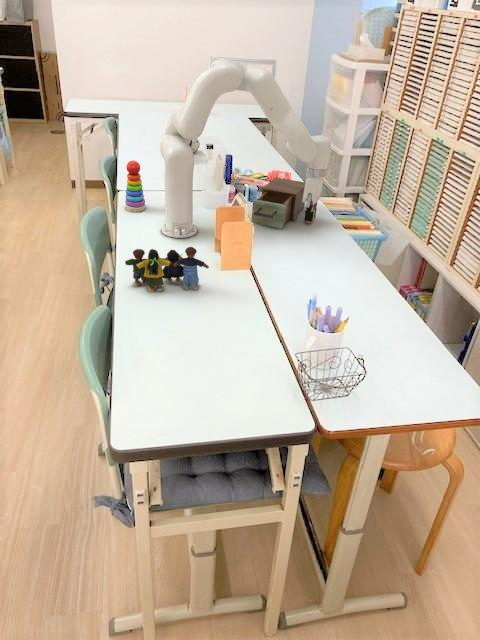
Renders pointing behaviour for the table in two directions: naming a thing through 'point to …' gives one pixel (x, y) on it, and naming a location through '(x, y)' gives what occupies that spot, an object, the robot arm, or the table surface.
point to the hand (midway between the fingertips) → (309, 218)
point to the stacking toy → (134, 188)
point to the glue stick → (313, 214)
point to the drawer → (272, 209)
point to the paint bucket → (194, 145)
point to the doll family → (165, 268)
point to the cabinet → (288, 192)
